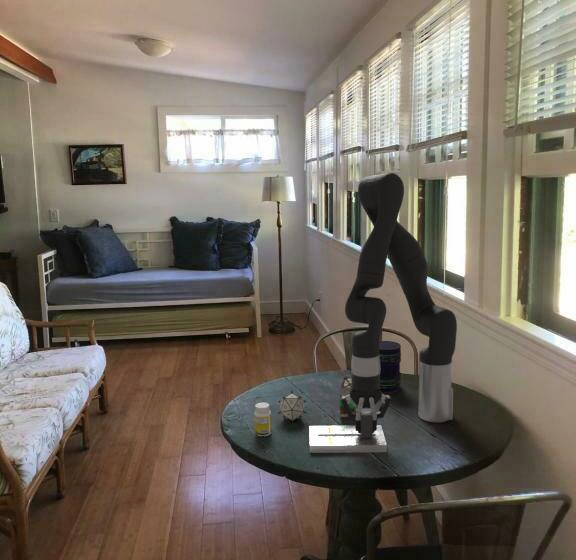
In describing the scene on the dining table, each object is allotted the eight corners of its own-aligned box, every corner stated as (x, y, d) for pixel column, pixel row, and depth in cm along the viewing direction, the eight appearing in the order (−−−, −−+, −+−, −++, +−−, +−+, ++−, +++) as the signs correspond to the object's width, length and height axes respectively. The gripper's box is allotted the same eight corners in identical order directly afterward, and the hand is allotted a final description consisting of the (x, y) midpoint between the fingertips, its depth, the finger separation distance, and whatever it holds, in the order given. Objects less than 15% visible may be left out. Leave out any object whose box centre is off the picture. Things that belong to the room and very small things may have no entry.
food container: (360, 422, 168) (360, 389, 166) (339, 421, 169) (339, 388, 168) (363, 406, 180) (363, 375, 178) (344, 404, 181) (343, 374, 180)
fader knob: (370, 429, 158) (370, 408, 157) (372, 437, 153) (372, 416, 152) (359, 429, 158) (359, 408, 157) (361, 437, 153) (361, 416, 152)
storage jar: (365, 389, 194) (365, 346, 191) (379, 380, 202) (379, 339, 199) (392, 395, 188) (392, 351, 186) (405, 386, 196) (406, 343, 193)
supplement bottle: (262, 428, 166) (261, 400, 165) (275, 432, 163) (274, 404, 162) (251, 434, 163) (250, 405, 161) (264, 438, 160) (263, 409, 158)
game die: (290, 428, 174) (289, 396, 179) (313, 424, 169) (312, 391, 174) (271, 423, 168) (271, 389, 172) (294, 418, 163) (294, 384, 168)
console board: (380, 431, 162) (380, 424, 161) (386, 452, 150) (386, 444, 150) (309, 432, 162) (309, 425, 162) (309, 452, 151) (309, 445, 150)
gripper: (390, 365, 156) (390, 425, 159) (338, 366, 156) (338, 426, 159) (394, 375, 148) (394, 437, 152) (339, 376, 149) (340, 438, 152)
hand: (365, 431), depth 156 cm, fingers closed on fader knob, 3 cm apart
